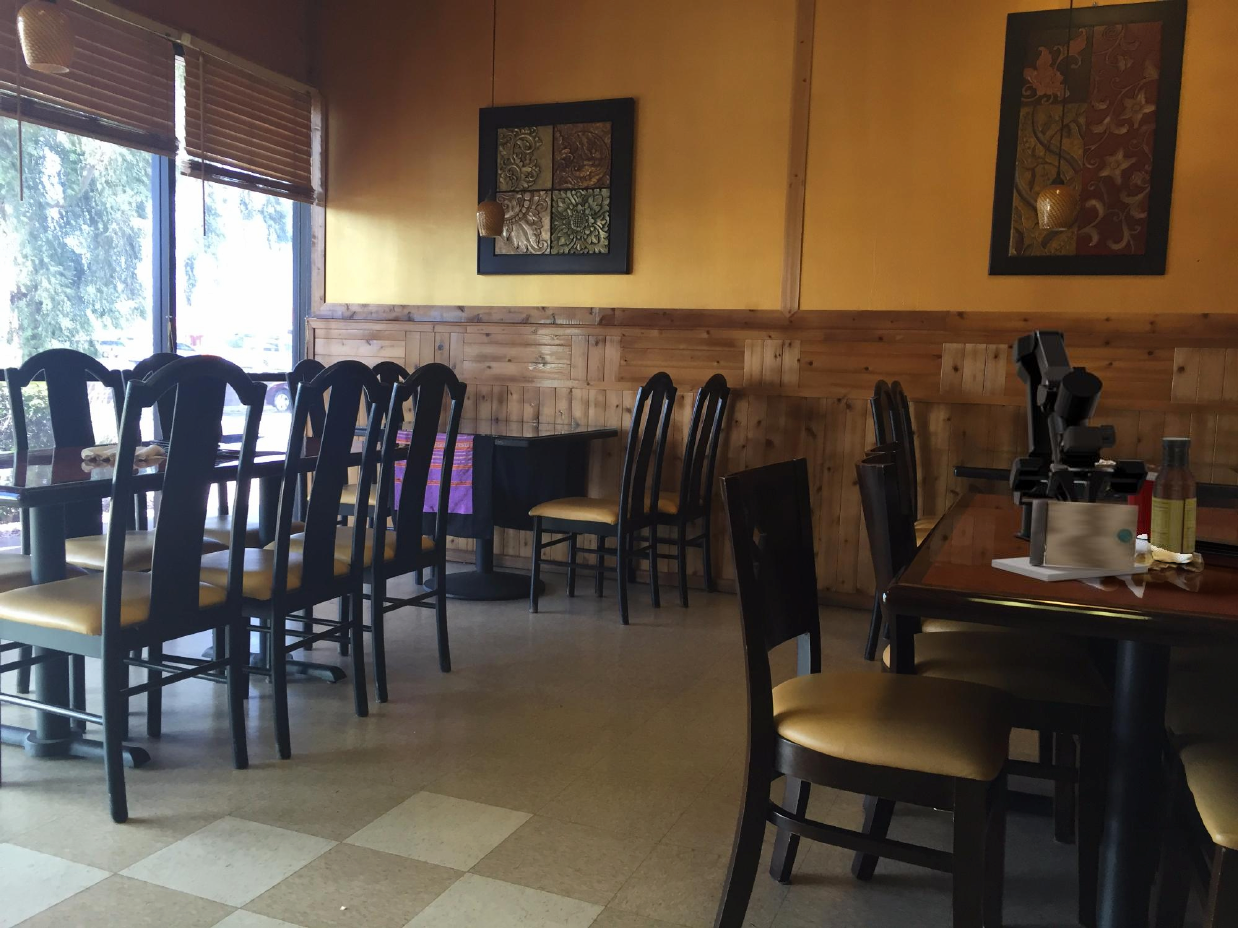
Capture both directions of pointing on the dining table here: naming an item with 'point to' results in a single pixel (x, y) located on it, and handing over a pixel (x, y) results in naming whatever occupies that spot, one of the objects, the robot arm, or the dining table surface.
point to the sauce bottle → (1174, 499)
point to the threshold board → (1059, 570)
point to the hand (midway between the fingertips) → (1084, 520)
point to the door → (1084, 534)
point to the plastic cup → (1144, 505)
